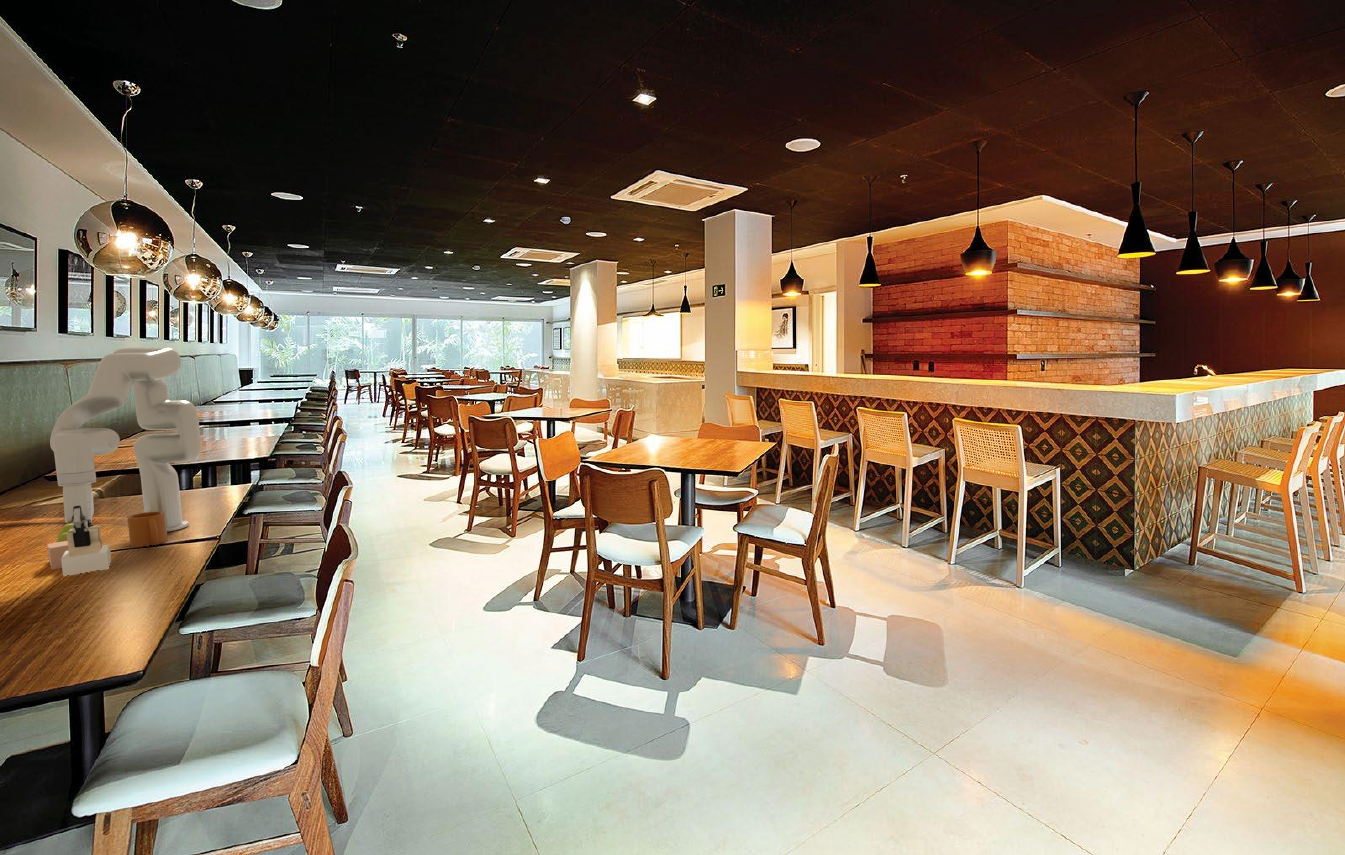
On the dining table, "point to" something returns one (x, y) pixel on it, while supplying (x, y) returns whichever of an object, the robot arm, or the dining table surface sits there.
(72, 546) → the maple cube
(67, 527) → the dumbbell
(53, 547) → the pink cube
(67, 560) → the base block
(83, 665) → the dining table surface
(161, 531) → the mug
